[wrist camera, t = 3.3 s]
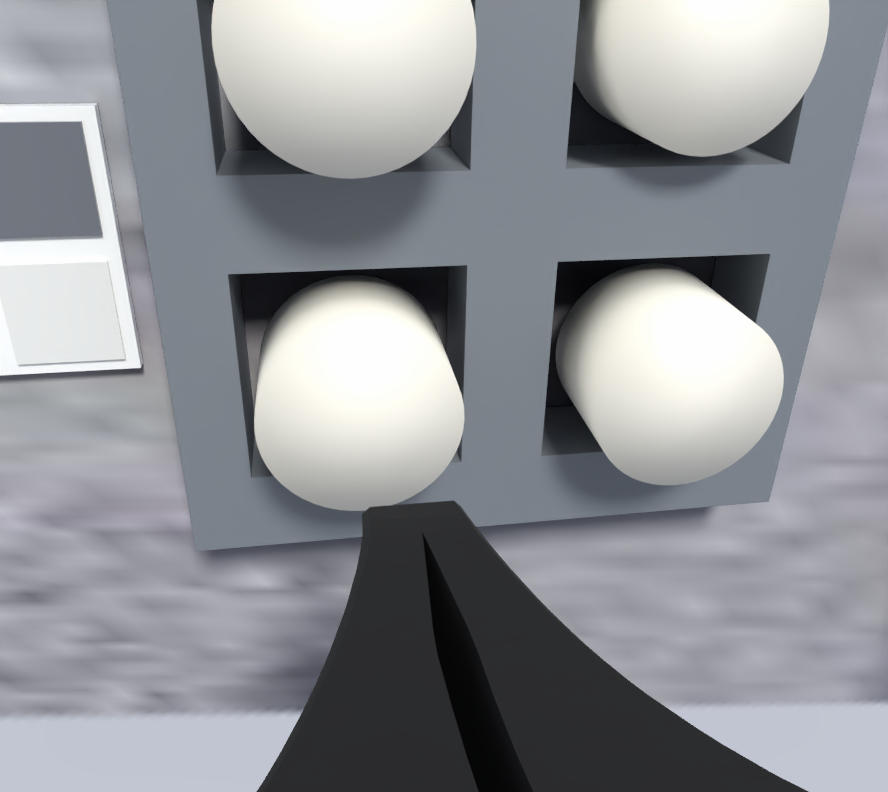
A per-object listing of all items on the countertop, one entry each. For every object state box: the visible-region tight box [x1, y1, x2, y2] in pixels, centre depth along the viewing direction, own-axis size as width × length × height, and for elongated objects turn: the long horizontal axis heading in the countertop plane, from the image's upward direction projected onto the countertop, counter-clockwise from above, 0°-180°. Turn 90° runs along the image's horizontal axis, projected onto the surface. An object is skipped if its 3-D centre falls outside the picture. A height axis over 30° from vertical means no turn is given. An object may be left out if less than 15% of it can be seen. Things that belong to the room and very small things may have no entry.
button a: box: [573, 0, 829, 157], centre depth 16 cm, size 4×4×3 cm
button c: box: [556, 263, 784, 485], centre depth 19 cm, size 4×4×3 cm
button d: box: [254, 275, 465, 511], centre depth 18 cm, size 4×4×3 cm
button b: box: [211, 0, 476, 179], centre depth 14 cm, size 4×4×3 cm
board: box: [107, 0, 888, 551], centre depth 18 cm, size 15×16×2 cm
